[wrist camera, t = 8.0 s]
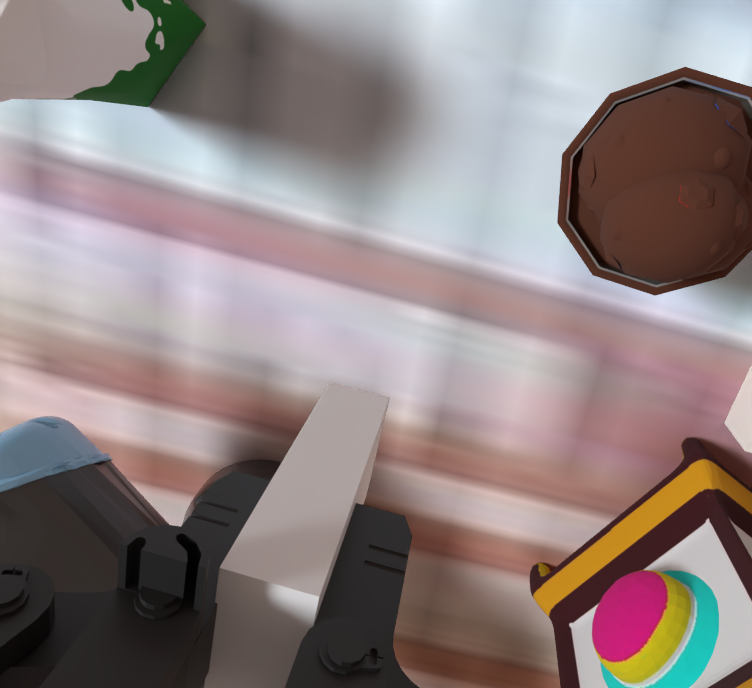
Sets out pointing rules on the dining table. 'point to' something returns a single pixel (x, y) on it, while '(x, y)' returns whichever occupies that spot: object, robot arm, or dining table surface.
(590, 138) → the ice cream bowl
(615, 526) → the decorative lantern
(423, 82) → the dining table surface
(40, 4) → the milk carton
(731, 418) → the console
